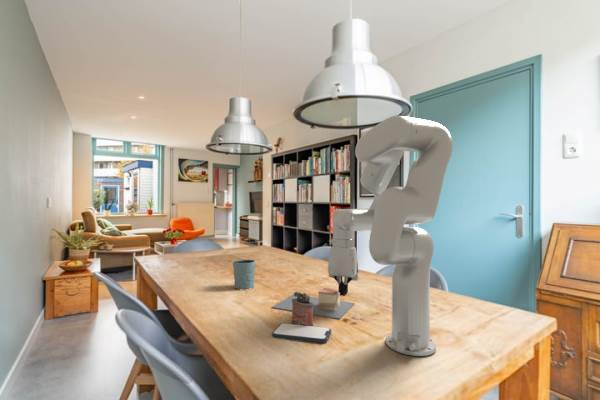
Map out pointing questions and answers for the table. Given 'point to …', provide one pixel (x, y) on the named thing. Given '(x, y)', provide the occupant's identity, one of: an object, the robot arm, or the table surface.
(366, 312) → the table surface
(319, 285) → the table surface
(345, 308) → the rubber mat
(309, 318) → the lighter
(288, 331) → the phone case
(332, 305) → the maple cube
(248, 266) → the teal cup
